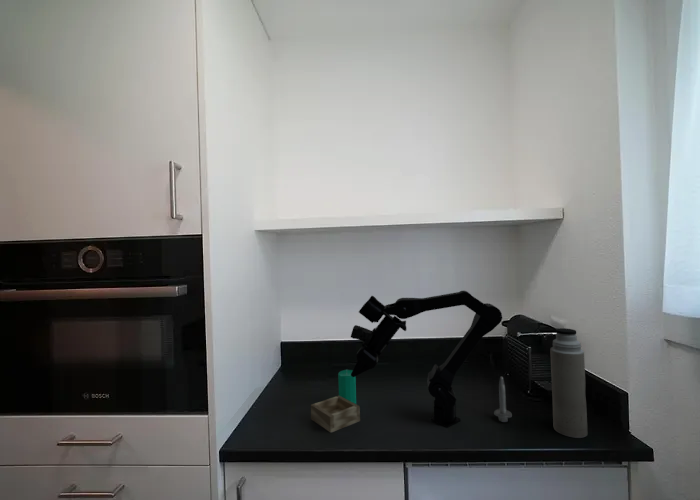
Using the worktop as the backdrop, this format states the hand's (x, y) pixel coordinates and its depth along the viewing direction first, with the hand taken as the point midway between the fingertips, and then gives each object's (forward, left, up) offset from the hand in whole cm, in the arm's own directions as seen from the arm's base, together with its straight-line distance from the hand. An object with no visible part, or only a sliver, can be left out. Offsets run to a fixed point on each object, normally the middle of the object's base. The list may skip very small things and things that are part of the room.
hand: (354, 371), depth 109 cm
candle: (-4, -9, -14) cm, 17 cm away
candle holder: (+6, -2, -14) cm, 16 cm away
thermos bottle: (-40, +46, -14) cm, 62 cm away
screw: (-31, +31, -14) cm, 46 cm away
